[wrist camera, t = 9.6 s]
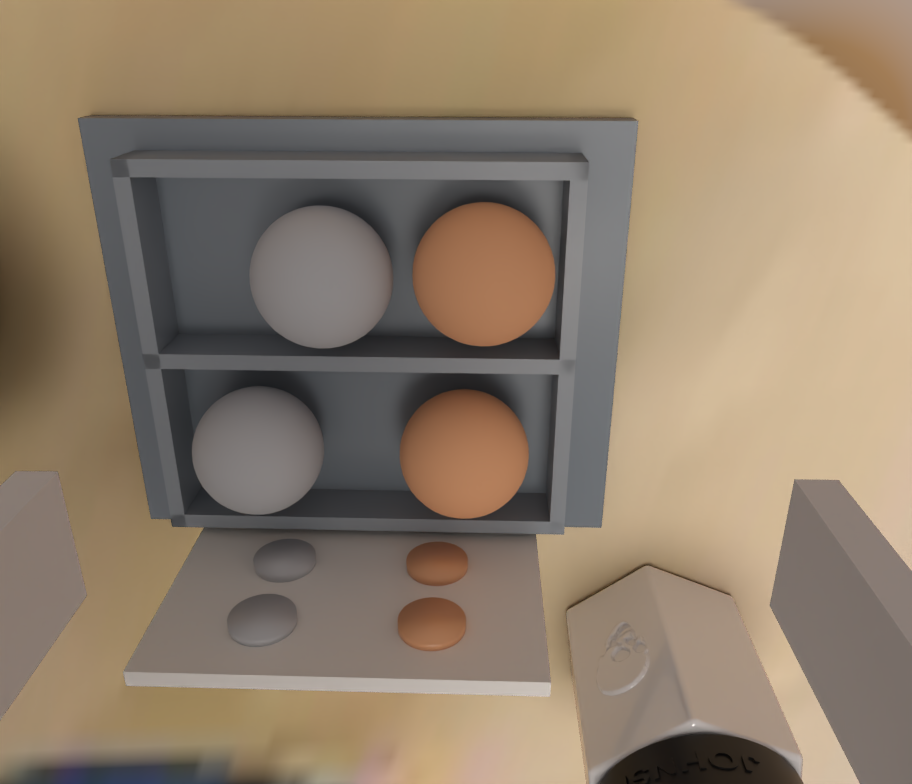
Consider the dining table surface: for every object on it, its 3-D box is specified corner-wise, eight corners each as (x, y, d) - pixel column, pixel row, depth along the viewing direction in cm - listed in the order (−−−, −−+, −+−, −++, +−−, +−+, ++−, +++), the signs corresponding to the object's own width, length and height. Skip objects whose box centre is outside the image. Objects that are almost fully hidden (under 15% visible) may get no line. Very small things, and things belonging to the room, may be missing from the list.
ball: (402, 324, 31) (428, 374, 26) (399, 192, 29) (426, 222, 24) (527, 315, 32) (571, 361, 27) (532, 187, 30) (581, 215, 25)
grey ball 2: (222, 472, 35) (182, 539, 30) (207, 365, 33) (162, 419, 28) (337, 474, 35) (315, 542, 30) (330, 367, 33) (304, 422, 28)
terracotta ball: (407, 475, 34) (395, 543, 30) (403, 368, 32) (390, 423, 28) (523, 477, 34) (529, 546, 30) (528, 369, 32) (535, 426, 28)
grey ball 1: (227, 354, 28) (345, 381, 26) (209, 213, 26) (336, 231, 24) (311, 312, 32) (419, 333, 30) (302, 187, 30) (417, 200, 28)
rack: (159, 506, 37) (37, 685, 27) (90, 115, 30) (-111, 159, 20) (598, 515, 36) (642, 701, 26) (633, 118, 29) (711, 164, 19)
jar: (685, 535, 36) (771, 751, 26) (773, 648, 39) (885, 889, 28) (525, 626, 39) (540, 860, 28) (617, 727, 41) (664, 977, 31)
